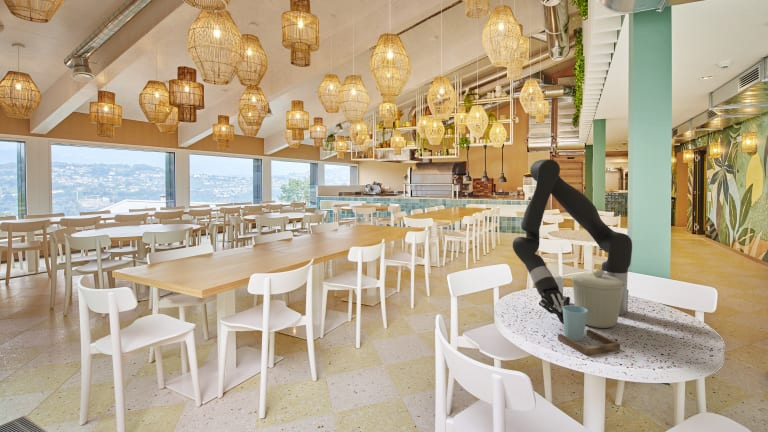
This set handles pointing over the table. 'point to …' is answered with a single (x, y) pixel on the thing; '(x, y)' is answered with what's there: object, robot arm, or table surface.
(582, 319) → the cup
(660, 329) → the table surface
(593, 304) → the canister
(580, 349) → the walnut bay
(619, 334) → the table surface
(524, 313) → the table surface
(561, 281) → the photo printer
